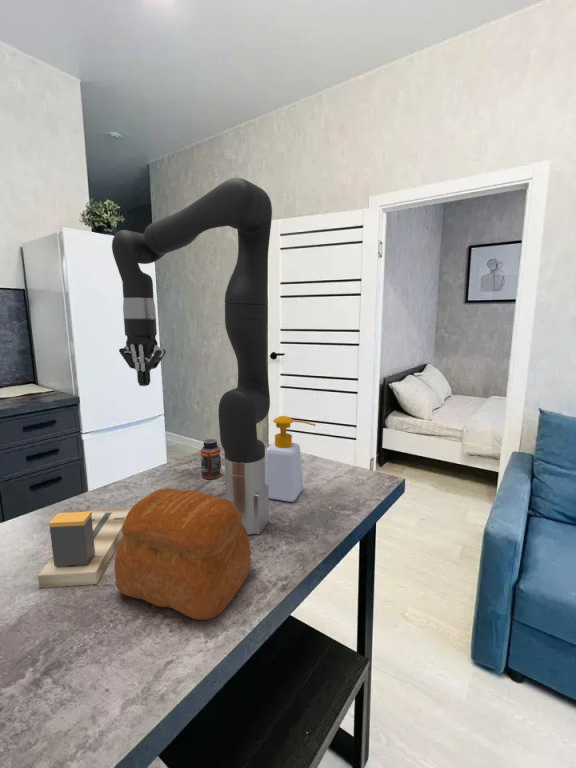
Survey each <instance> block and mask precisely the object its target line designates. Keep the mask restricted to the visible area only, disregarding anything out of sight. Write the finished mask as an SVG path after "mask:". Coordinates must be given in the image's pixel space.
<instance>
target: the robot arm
mask: <svg viewBox="0 0 576 768" xmlns="http://www.w3.org/2000/svg"><path fill="white" fill-rule="evenodd" d="M272 207H273V205H272V202H271V198H270V196H269V195H268V193H267V192H266V191H265V190H264V189H263V188H261V187H260V186H257V185H256V184H254V183H253V182H251V181H249V180H246V179H245V178H240V177H233V178H229V179H227V180H225V181H223V182H221V183H220V184H218V185H217V186H216V187H214V188H213V189H211V190H210V191H208V192H207V193H206V194H204V195H203V196H201V197H200V198H198V199H197V200H195V201H194V202H192V203H191V204H189V205H188V206H186V207H184V208H183V209H181V210H179V211H177V212H175V213H173V214H170V215H168V216H166V217H163V218H161V219H159V220H156V221H154V222H151V223H150V224H148V225H147V226H146V227H145V229H144V233H141V232H137V231H132V230H128V229H121V230H118V231H117V232H115V234H114V236H113V238H112V241H111V249H112V255H113V259H114V261H115V264H116V266H117V270H118V274H119V276H120V279H121V283H122V297H123V299H122V300H123V301H122V302H123V304H122V311H123V312H122V313H123V327H124V335H125V336H126V341H125V346H124V347H122V348H119V349H118V352H119V353H120V355H121V356H122V358H123V360H124V361H125V363H126V364H127V365H128V367H129V368H130V369H134V370H135V371H136V374H137V375H136V376H137V377H136V378H137V384H139V386H140V387H146V386H147V387H148V386H149V385H150V384H151V370H153V369H156V368H157V367H158V366H159V364H160V363H161V361H162V360H163V358H164V356H165V354H166V353H167V352H166V350H165V349H162V348H161V347H159V346H158V340H157V335H158V334H157V333H158V330H157V316H156V315H157V314H156V310H157V309H156V304H155V300H154V299H155V298H154V296H155V295H154V283H153V282H154V281H153V278H152V276H150V275H149V274H147V273H146V272H143V271H142V269H141V267H140V265H139V264H142V265H149V264H154V263H155V262H157V261H159V260H160V259H161V258H163V257H164V256H165V255H166V254H168V253H171V252H174V251H177V250H180V249H182V248H185V247H187V246H188V245H191V244H192V242H194V241H195V240H196V239H197V237H199V235H200V234H202V233H203V232H206V231H209V230H211V229H216V228H221V227H230V228H232V229H235V230H237V241H238V242H237V246H238V247H237V248H238V249H237V259H236V264H235V267H234V269H233V272H232V274H231V276H230V279H229V281H228V284H227V287H226V290H225V295H224V325H225V330H226V333H227V336H228V340H229V343H230V345H231V347H232V349H233V352H234V354H235V358H236V362H237V363H236V364H237V385H236V387H235V388H232V389H230V390H228V391H227V392H225V393H224V394H223V395H222V396H221V397H220V400H219V403H218V427H219V440H220V444H221V447H222V449H223V453H224V482H225V483H224V484H225V487H224V488H225V489H224V490H225V499H227V500H229V501H231V502H232V503H233V504H234V505H235V506H236V507H237V509H238V510H239V511H240V513H241V515H242V519H241V522H242V524H243V526H244V528H245V529H246V531H247V533H248V536H249V535H261V532H262V531H263V530H264V528H265V527H266V526H267V525H268V523H269V522H270V521H269V520H270V511H269V510H270V508H269V507H270V506H269V502H270V501H269V499H270V498H269V486H268V485H267V484H265V460H266V446H265V442H263V441H262V440H261V439H258V433H257V432H258V431H257V429H258V428H257V424H259V423H261V422H262V421H263V420H264V419H266V417H267V415H268V414H269V411H270V407H271V397H270V394H271V393H270V387H269V374H268V360H267V359H268V321H269V320H268V319H269V317H268V314H269V312H268V310H269V309H268V308H269V306H268V303H269V301H268V280H269V279H268V278H269V277H268V276H269V275H268V273H269V268H268V267H269V263H268V261H269V259H268V258H269V248H270V247H269V246H270V239H271V229H272V220H273V208H272Z"/></svg>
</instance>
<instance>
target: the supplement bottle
mask: <svg viewBox="0 0 576 768" xmlns="http://www.w3.org/2000/svg"><path fill="white" fill-rule="evenodd" d="M200 463H201V464H200V466H201V468H200V469H201V477H202V478H203V479H206V480H215V479H218V478H220V477H221V476H222V456H221V448H220V446H218V440H217V439H215V438H207V439H205V440H203V446H202V447H201V449H200Z"/></svg>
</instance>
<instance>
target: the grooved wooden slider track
mask: <svg viewBox="0 0 576 768" xmlns="http://www.w3.org/2000/svg"><path fill="white" fill-rule="evenodd" d="M131 509H132V507H124V508H104V509H101V508H99V509H98V508H97V509H89V510H88V512H92V526H93V536H94V547H95V554H94V556H93V557H92V559H91V560H90V562H89V564H84V565H67V566H54V559H53V556H52V557H51V558H50V560H49V561H48V562H47V563H46V565H45V566H44V567H43V569H42V570H41V571H40V572H39V574H38V575H37V578H38V586H39V589H40V588H42V589H45V588H54V587H55V588H56V587H58V588H59V587H73V586H86V585H88V586H90V585H97V584H98V582H99V581H100V579H101V577H102V575H103V574H104V572H105V570H106V569H107V566H108V564H110V563H109V562H110V561H111V559H112V558H113V555H114V553H116V551H117V549H118V547H119V545H120V542H121V540H122V537H123V532H122V527H123V523H124V521H125V519H126V516H127V514H128V512H129V511H130V510H131Z"/></svg>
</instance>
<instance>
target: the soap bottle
mask: <svg viewBox="0 0 576 768" xmlns="http://www.w3.org/2000/svg"><path fill="white" fill-rule="evenodd" d="M273 423H275V427H276V428H278V429H279V431H280V432H278V433H276V434H275V435H274V442H273V443H272V444H271V445H269V446H268V447H267V449H265V484H267V485H268V486H269V499H271V500H277V501H283V502H289V503H291V502H295V501H296V500H297V498H298V496H299V495H300V494H301V492H302V491H303V489H304V480H303V466H302V457H301V456H302V454H301V447H300V444H299V443H297V442H296V443H295V442H292V441H293V440H292V439H293V438H292V437H293V435H292V434H291V433H288V432H287V429H289V428H290V427H291V424H292V423H300V424H301V423H302V424H306V425H310V426H314V427H316V425H317V424H316V423H312V422H310V421H303V420H297V419H293V418H292V417H289V416H287V415H281V416H278V417H275V418H274V419H273Z"/></svg>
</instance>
